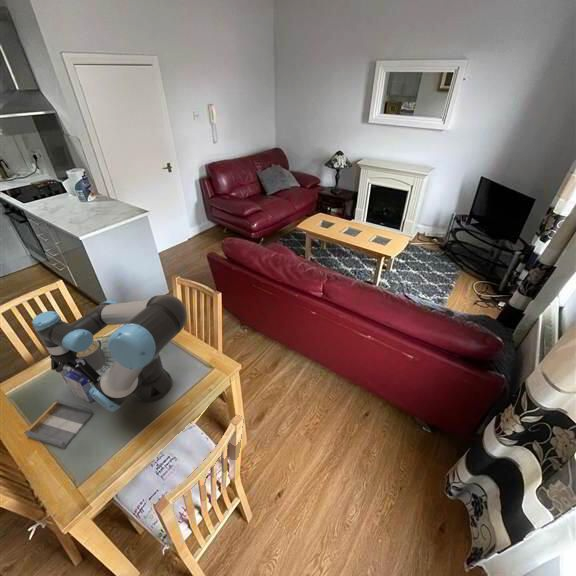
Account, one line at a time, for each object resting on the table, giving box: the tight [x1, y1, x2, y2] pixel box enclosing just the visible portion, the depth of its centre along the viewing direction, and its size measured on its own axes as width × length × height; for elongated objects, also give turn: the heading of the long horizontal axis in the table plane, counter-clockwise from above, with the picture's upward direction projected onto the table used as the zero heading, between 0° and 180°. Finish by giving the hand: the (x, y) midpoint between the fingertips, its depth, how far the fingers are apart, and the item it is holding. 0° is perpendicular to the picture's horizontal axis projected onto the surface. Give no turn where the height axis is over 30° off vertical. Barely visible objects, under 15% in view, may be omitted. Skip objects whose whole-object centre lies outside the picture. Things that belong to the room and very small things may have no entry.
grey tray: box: [23, 399, 95, 449], centre depth 114 cm, size 16×14×3 cm
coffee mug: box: [77, 338, 107, 371], centre depth 138 cm, size 13×10×10 cm
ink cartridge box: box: [64, 368, 95, 403], centre depth 122 cm, size 10×6×14 cm, turn 67°
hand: (82, 384), depth 123 cm, fingers open, 13 cm apart
